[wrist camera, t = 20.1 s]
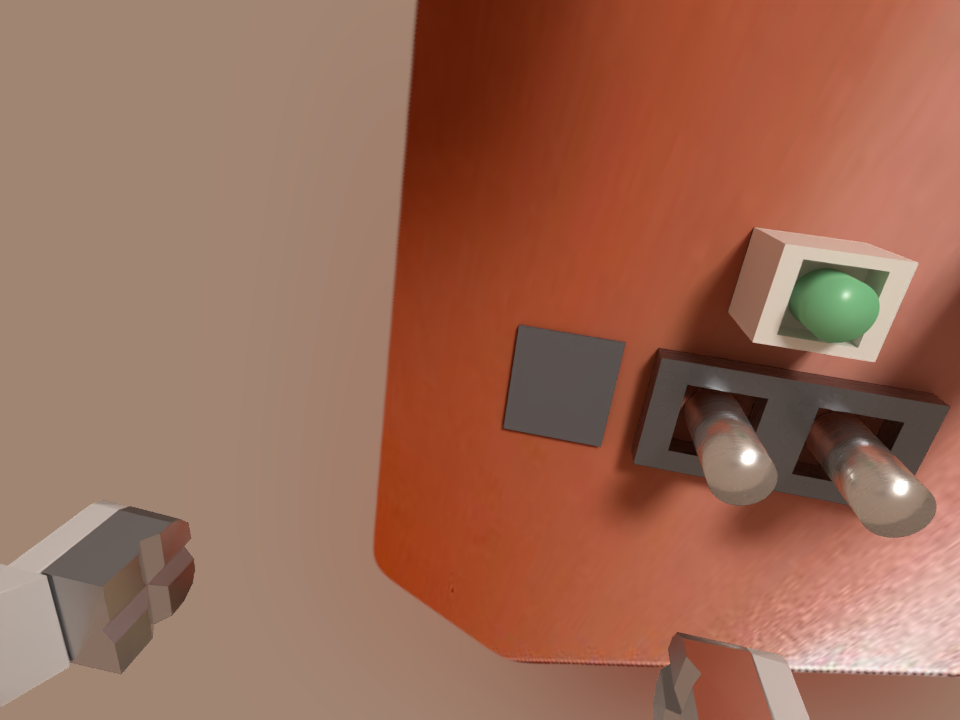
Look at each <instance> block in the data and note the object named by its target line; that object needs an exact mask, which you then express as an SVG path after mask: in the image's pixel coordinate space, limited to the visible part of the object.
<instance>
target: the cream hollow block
mask: <svg viewBox="0 0 960 720" xmlns="http://www.w3.org/2000/svg"><path fill="white" fill-rule="evenodd" d="M917 266H918V262H916V261H913V260H910V259H908V258H905V257H903V256H900V255H897V254H895V253H892V252H889V251H887V250H884V249H881V248H879V247H876V246H874V245H871V244H868V243H866V242H858V241H851V240H844V239H837V238H830V237H822V236H815V235H808V234H801V233H794V232H786V231H779V230H772V229H765V228H758V227H754V230H753V233H752V236H751V239H750V242H749V246H748V249H747V252H746V255H745V259H744V262H743V265H742V268H741V271H740V275H739V278H738V281H737V284H736V288H735V291H734V294H733V297H732V300H731V304H730V307H729V310H728V313H729V314H730V315H731V317H732V318H733V319H734V320H735V322H736V323H737V324H738V325H739V327H740V328H741V329H742V330H743V331H744V333H745V334H746V335H747V336H748V338H749V339H750V340H751V341H752V342H753V343H760V344H766V345H772V346H778V347H784V348H790V349H796V350H803V351H809V352H815V353H821V354H827V355H833V356H839V357H846V358H852V359H858V360H864V361H870V362H875V361H876V359H877V357H878V354H879V352H880V350H881V347H882V345H883V343H884V341H885V338H886V336H887V334H888V332H889V329H890V327H891V325H892V322H893V320H894V318H895V316H896V313H897V311H898V309H899V307H900V304H901V302H902V300H903V298H904V295H905V293H906V291H907V288H908V286H909V284H910V282H911V279H912V277H913V275H914V273H915V270H916V268H917ZM821 268H833V269H837V270H840V271H842V272H844V273H846V274H848V275H850V276H851V277H853V278H855V279H857V280H859V281H861V282H863V283H865V284H867V285H868V286H870V287H871V288H872V289H873V290H874V291H875V293H876V294H877V296H878V299H879V303H880V309H879V314H878V317H877V319H876V321H875V323H874V324H873V326H872V327H871V328H870V329H869V330H868V331H867V332H866V333H864V334H863V335H861V336H860V337H858V338H856V339H854V340H851V341H847V342H842V343H832V342H827V341H824V340H821V339H819V338H818V337H816V336H815V335H814V334H813V333H812V332H811V331H809V330H808V329H807V328H806V327H805V326H804V325H802V324H801V323H800V322H799V321H798V320H797V319H796V318H795V317H794V316H793V315H792V313H791V312H790V309H789V304H788V302H789V299H790V296H791V293H792V290H793V288H794V285H795V283H796V282H797V281H798V280H799V279H800V278H801V277H802V276H804V275H805V274H807V273H809V272H811V271H813V270H816V269H821Z"/></svg>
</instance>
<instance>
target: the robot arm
mask: <svg viewBox="0 0 960 720" xmlns="http://www.w3.org/2000/svg"><path fill="white" fill-rule="evenodd" d="M190 539H191V534H190V528H189V523H188V522H185V521H183V520H181V519H178V518H173V517H170V516H166V515H162V514H158V513H154V512H150V511H147V510H143V509H139V508H135V507H131V506H130V507H129V506H125V505H121V504H117V503H113V502H110V501H106V500H103V501H99V502H96V503H92V504H91V505H90V506H88V507H87V508H85V509H84V510H83V511H81V512H80V513H79V514H77V515H76V516H75V517H73V518H72V519H71V520H69V521H68V522H67V523H65V524H64V525H63V526H61V527H60V528H58V529H57V530H56V531H54V532H53V533H52V534H50V535H49V536H48V537H46V538H45V539H43V540H42V541H41V542H39V543H38V544H37V545H35V546H34V547H33V548H31V549H30V550H29V551H27V552H26V553H24V554H23V555H22V556H20V557H19V558H18V559H16V560H15V561H14V562H12V563H11V564H10V565H3V564H0V707H2V706H4V705H5V704H7V703H9V702H10V701H12V700H14V699H16V698H17V697H19V696H21V695H22V694H24V693H26V692H27V691H29V690H31V689H33V688H34V687H36V686H38V685H39V684H41V683H43V682H44V681H46V680H48V679H49V678H51V677H53V676H55V675H56V674H58V673H59V672H61V671H63V670H65V669H66V668H68V667H70V665H71V664H70V663H74V664H79V665H83V666H88V667H92V668H96V669H100V670H104V671H109V672H113V673H118V674H122V673H123V672H124V671H125V669H126V668H127V667H128V666H129V665H130V664H131V662H132V661H133V660H134V659H135V658H136V657H137V656H138V654H139V653H140V652H141V651H142V650H143V649H144V647H145V646H146V645H147V644H148V643H149V642H150V641H151V639H152V638H153V629H154V624H156V623H158V622H160V621H162V620H164V619H166V618H168V617H170V616H172V615H173V614H174V613H175V611H176V610H177V609H178V608H179V607H180V605H181V604H182V603H183V602H184V600H185V598H186V596H187V594H188V592H189V590H190V588H191V586H192V584H193V579H194V573H195V565H194V558H193V557H192V556H191V554H190V553H189V552H188V551H187V549H186V548H185V547H184V546H185V545H186V544H187V543H188V541H189V540H190ZM668 652H669V659H670V664H669V665H668V666H666V667H664V668H662V669H661V670H660V673H659V677H658V680H657V683H656V688H655V696H654V720H810V719H809V716H808V714H807V711H806V709H805V706H804V703H803V701H802V698H801V696H800V693H799V691H798V688H797V686H796V683H795V681H794V678H793V675H792V673H791V670H790V668H789V665H788V663H787V661H786V660H785V659H784V658H783V656H782V655H779V654H775V653H770V652H766V651H761V650H757V649H752V648H748V647H745V648H744V647H742V646H739V645H734V644H730V643H725V642H721V641H716V640H711V639H707V638H702V637H697V636H693V635H688V634H684V633H679V632H677V633H676V634H675V635H674V636H673V637H672V640H671V643H670V645H669V648H668Z"/></svg>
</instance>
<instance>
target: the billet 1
mask: <svg viewBox="0 0 960 720" xmlns="http://www.w3.org/2000/svg"><path fill="white" fill-rule="evenodd" d="M684 418H685V421H686V424H687V427H688V429H689V432H690V435H691V438H692V441H693V444H694V446H695V449H696V452H697V455H698V458H699V461H700V463H701V466H702V469H703V472H704V475H705V478H706V481H707V483H708V486H709V489H710V491H711V492H712V493H713V495H714V496H715V497H716V498H718V499H719V500H721V501H723V502H725V503H727V504H731V505H737V506H744V505H751V504H754V503H757V502H759V501H761V500H763V499H765V498H766V497H767V496H768V495H770V493H771V492H772V491H773V490H774V488H775V486H776V483H777V478H778V477H777V470H776V468H775V466H774V464H773V462H772V460H771V459H770V457H769V455H768V454H767V452H766V450H765V448H764V447H763V445H762V443H761V441H760V440H759V438H758V436H757V434H756V433H755V431H754V429H753V427H752V426H751V424H750V422H749V420H748V419H747V417H746V415H745V413H744V412H743V410H742V408H741V406H740V405H739V403H738V401H737V400H736V398H735V397H734V396H733V395H732V394H731V393H730V392H726V391H720V390H715V389H709V388H706V389H702V390H700V391H698V392H696V393H694V394H693V395H692V396H691V397H690V398H689V399H688V400H687V402H686V404H685V407H684Z"/></svg>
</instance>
